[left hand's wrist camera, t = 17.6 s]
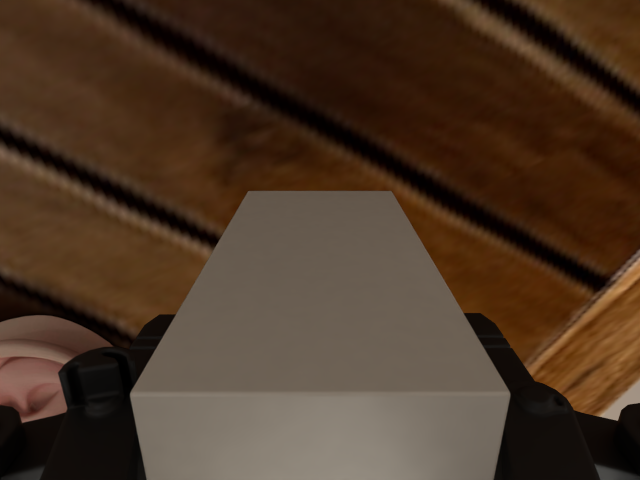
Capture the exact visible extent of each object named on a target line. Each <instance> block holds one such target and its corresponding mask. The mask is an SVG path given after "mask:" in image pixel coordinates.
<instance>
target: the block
mask: <svg viewBox="0 0 640 480" xmlns="http://www.w3.org/2000/svg"><path fill="white" fill-rule="evenodd" d="M130 398H131V403H132V408H133V413H134V418H135V423H136V428H137V433H138V438H139V443H140V448H141V453H142V458H143V463H144V468H145V473H146V478H147V480H494V475H495V470H496V465H497V460H498V455H499V450H500V445H501V440H502V435H503V430H504V425H505V420H506V415H507V410H508V405H509V400H510V392H509V390H508V388H507V387H506V385H505V383H504V381H503V380H502V378H501V376H500V375H499V373H498V371H497V370H496V368H495V366H494V364H493V363H492V361H491V359H490V358H489V356H488V354H487V353H486V351H485V349H484V347H483V346H482V344H481V342H480V341H479V339H478V337H477V336H476V334H475V332H474V330H473V329H472V327H471V325H470V324H469V322H468V320H467V319H466V317H465V315H464V314H463V312H462V310H461V308H460V307H459V305H458V303H457V302H456V300H455V298H454V297H453V295H452V293H451V291H450V290H449V288H448V286H447V285H446V283H445V281H444V280H443V278H442V276H441V274H440V273H439V271H438V269H437V268H436V266H435V264H434V263H433V261H432V259H431V258H430V256H429V254H428V252H427V251H426V249H425V247H424V246H423V244H422V242H421V241H420V239H419V237H418V235H417V234H416V232H415V230H414V229H413V227H412V225H411V224H410V222H409V220H408V218H407V217H406V215H405V213H404V212H403V210H402V208H401V207H400V205H399V203H398V202H397V200H396V198H395V196H394V195H393V193H392V192H391V191H248V193H247V194H246V196H245V198H244V199H243V201H242V203H241V205H240V206H239V208H238V210H237V211H236V213H235V215H234V216H233V218H232V220H231V222H230V223H229V225H228V227H227V228H226V230H225V232H224V234H223V235H222V237H221V239H220V240H219V242H218V244H217V246H216V247H215V249H214V251H213V252H212V254H211V256H210V258H209V259H208V261H207V263H206V264H205V266H204V268H203V269H202V271H201V273H200V275H199V276H198V278H197V280H196V281H195V283H194V285H193V287H192V288H191V290H190V292H189V293H188V295H187V297H186V299H185V300H184V302H183V304H182V305H181V307H180V309H179V310H178V312H177V314H176V316H175V317H174V319H173V321H172V322H171V324H170V326H169V328H168V329H167V331H166V333H165V334H164V336H163V338H162V340H161V341H160V343H159V345H158V346H157V348H156V350H155V351H154V353H153V355H152V357H151V358H150V360H149V362H148V363H147V365H146V367H145V369H144V370H143V372H142V374H141V375H140V377H139V379H138V381H137V382H136V384H135V386H134V387H133V389H132V391H131V393H130Z"/></svg>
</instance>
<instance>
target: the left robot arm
mask: <svg viewBox="0 0 640 480" xmlns="http://www.w3.org/2000/svg"><path fill="white" fill-rule="evenodd" d="M463 314H464V315H465V317H466V319H467V320H468V322H469V324H470V325H471V327H472V329H473V330H474V332H475V334H476V336H477V337H478V339H479V341H480V342H481V344H482V346H483V347H484V349H485V351H486V353H487V354H488V356H489V358H490V359H491V361H492V363H493V364H494V366H495V368H496V370H497V371H498V373H499V375H500V376H501V378H502V380H503V381H504V383H505V385H506V387H507V388H508V390H509V392H510V400H509V405H508V410H507V415H506V420H505V425H504V430H503V435H502V440H501V445H500V450H499V455H498V460H497V465H496V470H495V475H494V480H640V403H638V404H630V405H627V406H626V407H625V408H623V409H622V410H621V413H620V416H619V419H618V421H616V420H611V419H607V418H602V417H598V416H593V415H589V414H585V413H581V412H578V411H574V410H573V407H572V406H571V404H570V403H569V401H568V400H567V398H565V397H564V396H563V395H562V394H560V393H559V392H558V391H557V390H555V389H553V388H551V387H549V386H547V385H545V384H543V383H539V382H535V381H534V379H533V378H532V377H531V375H530V374H529V372H528V371H527V369H526V368H525V366H524V365H523V363H522V362H521V361H520V359H519V358H518V356H517V355H516V353H515V352H514V350H513V349H512V348H510V345H509V343H508V342H507V340H506V339H505V338H503V334H502V333H501V332H500V330H499V329H498V327H497V326H496V324H495V323H493V322H492V321H491V320H489V319H488V318H486V317H485V316H484V315H482V314H481V313H463ZM175 316H176V315H158V316H157V317H155V318H154V319H153V320H151V321H150V322H148V323H147V324H146V325H145V326H144V327H143V328H142V330H141V331H140V333H139V334H138V336H137V339H135V340H134V342H133V343H132V345H131V346H130V349H129V350H128V349H126V348H122V347H117V346H113V347H101V348H97V349H92V350H89V351H87V352H84V353H82V354H80V355H77V356H75V357H74V358H72V359H71V360H70V361H68V362H67V363H65V364H64V365H63V367H62V368H61V369H60V371H59V372H58V376H59V379H60V383H61V387H62V390H63V394H64V398H65V402H66V405H67V411H66V412H65V413H61V414H58V415H55V416H50V417H46V418H41V419H37V420H32V421H28V422H23V423H22V420H21V417H20V414H19V412H18V411H17V410H16V409H14V408H13V407H11V406H4V405H0V480H147V478H146V473H145V468H144V463H143V458H142V453H141V448H140V443H139V438H138V433H137V428H136V423H135V418H134V413H133V408H132V403H131V398H130V393H131V391H132V389H133V387H134V386H135V384H136V382H137V381H138V379H139V377H140V375H141V374H142V372H143V370H144V369H145V367H146V365H147V363H148V362H149V360H150V358H151V357H152V355H153V353H154V351H155V350H156V348H157V346H158V345H159V343H160V341H161V340H162V338H163V336H164V334H165V333H166V331H167V329H168V328H169V326H170V324H171V322H172V321H173V319H174V317H175Z"/></svg>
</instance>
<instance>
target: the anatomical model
mask: <svg viewBox="0 0 640 480" xmlns="http://www.w3.org/2000/svg"><path fill="white" fill-rule="evenodd" d="M101 347H113V346H112V345H111V344H110V343H109V342H107V341H106V340H105V339H103V338H102V337H100V336H99V335H97V334H96V333H94V332H92V331H90V330H89V329H87V328H85V327H83V326H81V325H78V324H76V323H74V322H71V321H68V320H65V319H62V318H59V317H53V316H46V315H33V316H24V317H19V318H14V319H9V320H6V321H3V322H0V405H4V406H11V407H13V408H14V409H16V410H17V411H18V412H19V414H20V417H21V420H22V423H23V422H28V421H32V420H37V419H41V418H46V417H50V416H55V415H58V414H61V413H65V412H66V411H67V405H66V402H65V398H64V394H63V390H62V387H61V383H60V379H59V376H58V372H59V371H60V369H61V368H62V367H63V365H64V364H65V363H67V362H68V361H70V360H71V359H72V358H74V357H75V356H77V355H80V354H82V353H84V352H87V351H89V350H92V349H97V348H101Z"/></svg>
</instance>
